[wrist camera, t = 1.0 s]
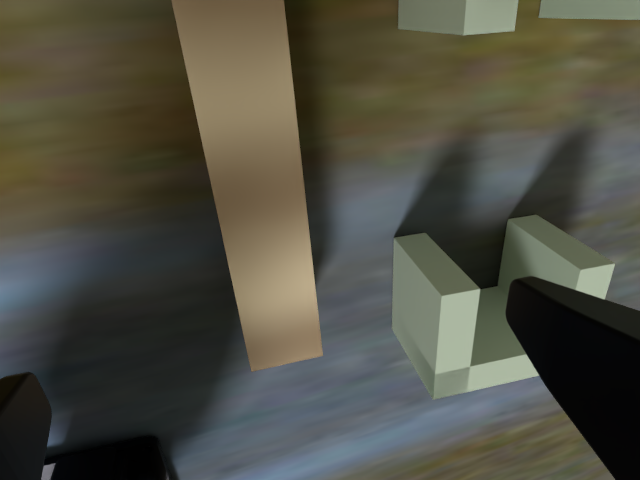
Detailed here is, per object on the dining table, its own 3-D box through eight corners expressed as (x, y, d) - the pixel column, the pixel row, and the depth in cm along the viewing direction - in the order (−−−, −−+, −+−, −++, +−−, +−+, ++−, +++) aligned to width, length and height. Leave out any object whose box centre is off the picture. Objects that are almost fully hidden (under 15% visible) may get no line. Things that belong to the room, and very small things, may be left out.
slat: (304, 301, 22) (322, 355, 19) (244, 313, 22) (251, 371, 18) (259, -61, 15) (274, -82, 12) (167, -54, 15) (155, -74, 11)
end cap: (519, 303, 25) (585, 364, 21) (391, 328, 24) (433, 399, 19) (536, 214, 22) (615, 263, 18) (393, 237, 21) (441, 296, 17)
